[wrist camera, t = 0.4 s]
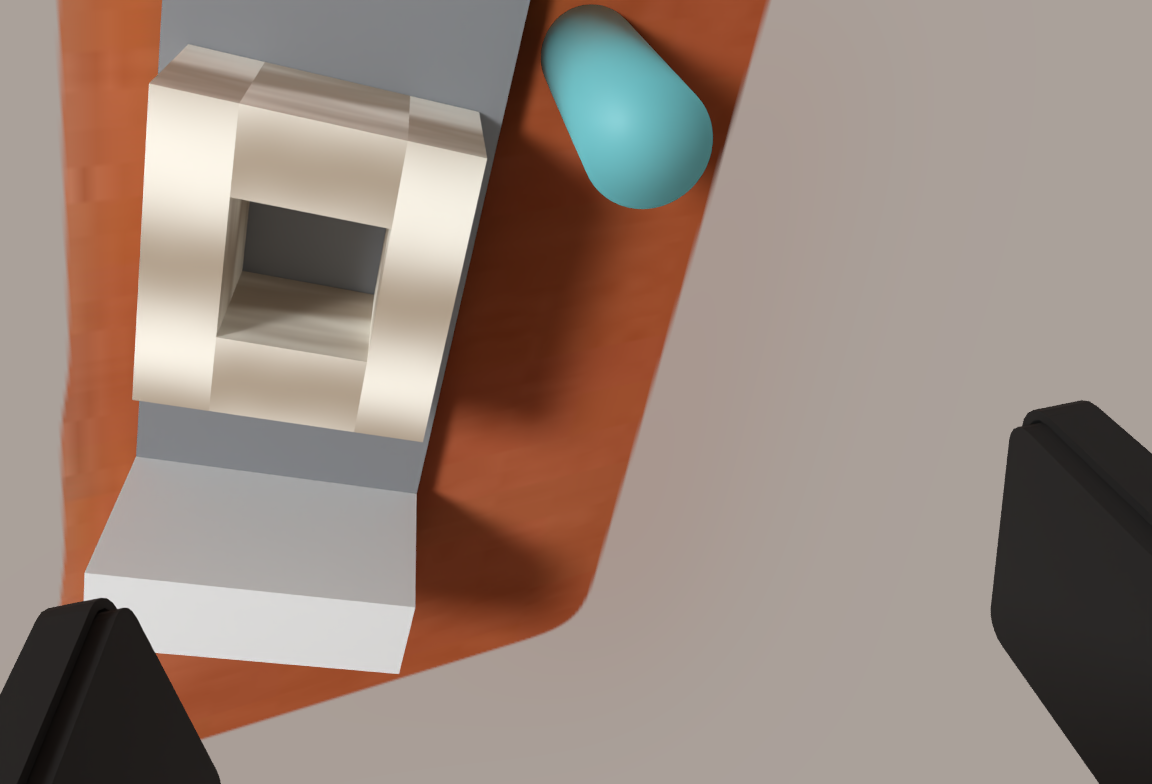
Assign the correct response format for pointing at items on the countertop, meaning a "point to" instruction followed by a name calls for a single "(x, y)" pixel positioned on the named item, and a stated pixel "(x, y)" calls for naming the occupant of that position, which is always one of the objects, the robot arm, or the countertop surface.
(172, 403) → the block
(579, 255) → the countertop surface
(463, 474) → the countertop surface
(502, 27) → the track
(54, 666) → the robot arm
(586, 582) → the countertop surface
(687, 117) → the dowel
